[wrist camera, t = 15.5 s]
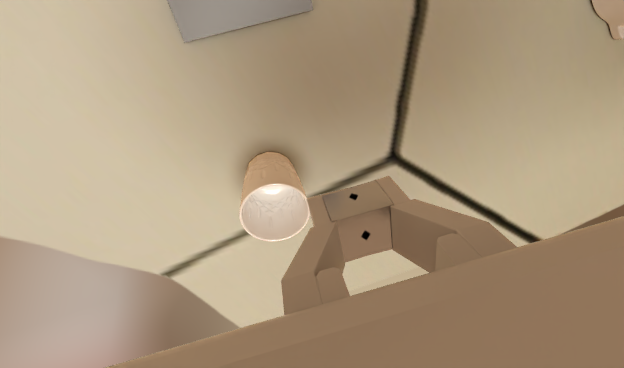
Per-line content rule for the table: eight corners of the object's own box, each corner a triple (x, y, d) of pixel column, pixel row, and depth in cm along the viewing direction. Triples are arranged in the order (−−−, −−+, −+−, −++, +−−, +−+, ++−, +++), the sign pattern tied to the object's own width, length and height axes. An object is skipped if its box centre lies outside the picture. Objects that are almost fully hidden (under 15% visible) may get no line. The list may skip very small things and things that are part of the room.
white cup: (251, 139, 37) (251, 175, 28) (306, 156, 40) (321, 194, 31) (235, 189, 40) (230, 234, 31) (286, 201, 43) (295, 246, 34)
